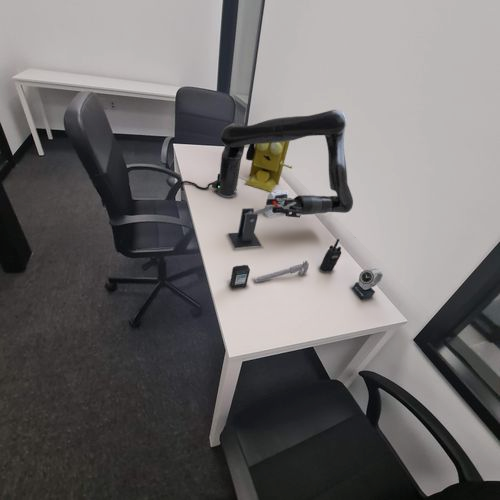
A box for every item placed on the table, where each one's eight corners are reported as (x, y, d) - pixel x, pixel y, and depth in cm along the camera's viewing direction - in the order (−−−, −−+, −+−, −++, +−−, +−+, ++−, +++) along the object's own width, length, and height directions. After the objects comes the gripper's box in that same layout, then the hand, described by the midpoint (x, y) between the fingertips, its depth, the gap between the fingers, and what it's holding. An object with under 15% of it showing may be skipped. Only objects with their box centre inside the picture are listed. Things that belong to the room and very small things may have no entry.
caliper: (304, 272, 97) (309, 259, 93) (305, 274, 96) (311, 261, 93) (253, 280, 89) (257, 267, 85) (255, 283, 89) (258, 269, 85)
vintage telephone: (229, 179, 148) (237, 123, 129) (237, 171, 158) (245, 118, 140) (282, 195, 144) (298, 139, 125) (287, 186, 155) (302, 133, 136)
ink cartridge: (231, 289, 84) (235, 271, 80) (229, 284, 86) (233, 266, 81) (246, 287, 86) (250, 269, 81) (243, 282, 88) (247, 264, 83)
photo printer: (278, 210, 131) (285, 187, 123) (283, 214, 128) (290, 191, 121) (262, 213, 125) (267, 189, 118) (267, 218, 123) (273, 194, 115)
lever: (275, 204, 102) (274, 199, 100) (280, 211, 99) (280, 206, 97) (244, 216, 101) (243, 211, 99) (248, 223, 97) (247, 218, 95)
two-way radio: (321, 273, 99) (336, 241, 90) (316, 265, 102) (330, 233, 93) (333, 272, 100) (350, 241, 91) (328, 264, 104) (343, 233, 94)
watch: (347, 289, 94) (361, 267, 88) (364, 285, 98) (378, 263, 91) (358, 301, 90) (372, 279, 84) (374, 297, 94) (390, 275, 87)
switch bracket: (252, 233, 111) (259, 205, 102) (260, 247, 104) (268, 217, 96) (227, 235, 107) (232, 206, 98) (234, 249, 100) (240, 219, 92)
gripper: (301, 187, 108) (264, 187, 101) (320, 206, 98) (280, 207, 91) (296, 203, 112) (260, 204, 106) (313, 222, 102) (275, 225, 96)
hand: (270, 205), depth 98 cm, fingers closed on lever, 5 cm apart
